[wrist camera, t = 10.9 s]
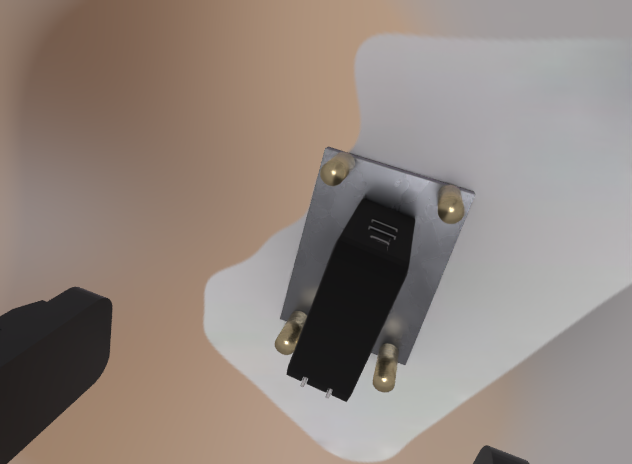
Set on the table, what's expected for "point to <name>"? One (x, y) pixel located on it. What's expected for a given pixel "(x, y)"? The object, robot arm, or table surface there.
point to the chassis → (426, 254)
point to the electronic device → (353, 299)
